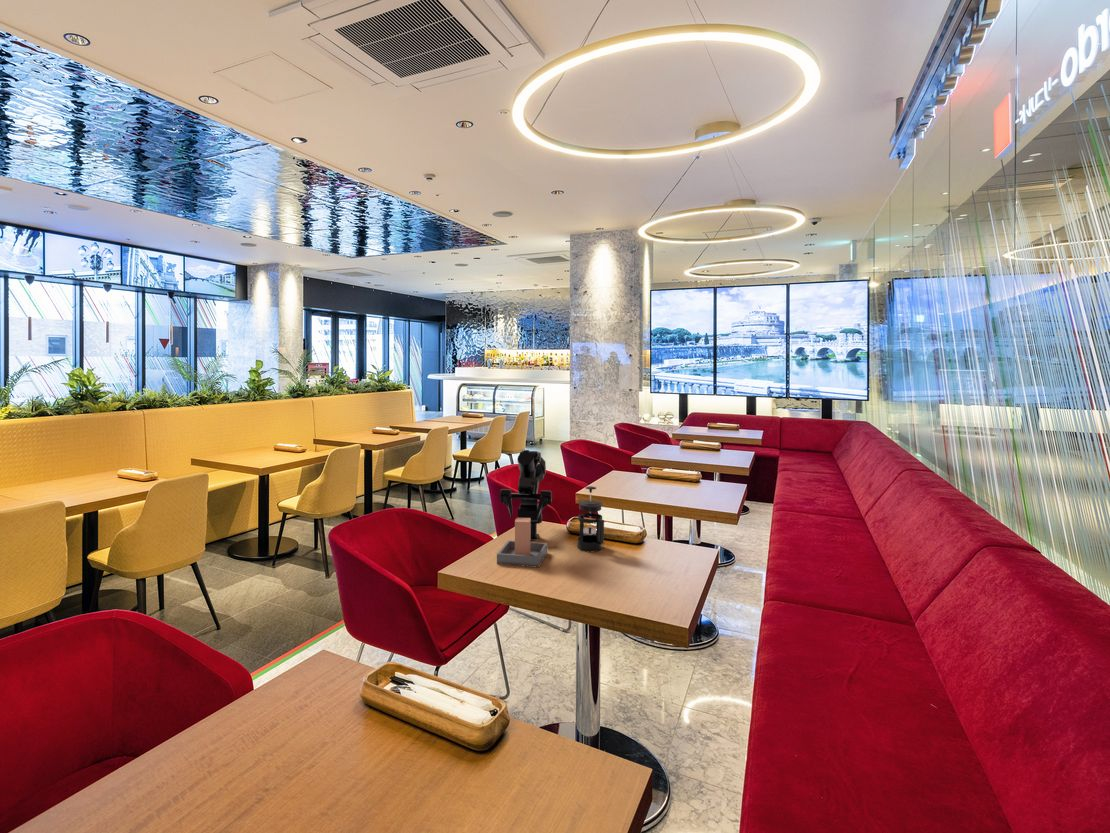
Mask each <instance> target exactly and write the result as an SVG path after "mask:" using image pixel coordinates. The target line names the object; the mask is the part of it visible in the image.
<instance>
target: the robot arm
mask: <svg viewBox="0 0 1110 833" xmlns="http://www.w3.org/2000/svg"><path fill="white" fill-rule="evenodd" d="M517 463H518V470H519V477H518V484H517V491H518V492H512V489H511V488H509V489H508V488H501V489H500V490H499V500H500V503H501V504H503V505H505V506H506V507H507V509H508V512H509V514H510V518H512V517H513V501H512V500H513V499H514V500H515V499H516V500H517V499H518V500H519V499H520V504H519V507H518V509H517V518H531V539H536V538H537V537H538V538H539V536H540V534H539V533H537V531H538V527H537V525H540V524H542V523H543V515H542V511H543V510H544V509H545V507H548V506H549V505H552V500H553V499H552V498H553V497H552V496H553V494H552V491H551V490H541V489H540V493H539V492H538V491H539V485H540V482H542V481H543V480H544V477H545V475H546V472H547V467H546V466H547V465H546V460H545V459H544V458H543V457H542V453H541V452H539V451H538V450H529V449H524V450H521V452H520V453H519V454H518V456H517ZM538 535H539V536H538ZM538 538H537V539H538ZM537 539H536V540H537Z"/></svg>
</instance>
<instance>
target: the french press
mask: <svg viewBox="0 0 1110 833" xmlns="http://www.w3.org/2000/svg"><path fill="white" fill-rule="evenodd" d="M584 489H586V490H589V491H588V492H589V499H588V500H587V499H585V500H581V501H578V502H577V503H578V505H579V506H578V507H579V511H583V512H584V513H579V514H578V516H577V520H578V522H579V529H578V532H579V536H578V537H577V545H576V548H577V549H578V550H580V551H582V552H587V551H589V553H590V552H591V551H595V552H599V551H601V550H602V549H603V544H604V543H605V540H604V539H605V520H604V519H603V515H602V514H600V513H596V512H600V511H602V506H603V504H604V503H603V502H602V501H599V500H592V492H593V490H597V487H596V486H590V485H589V486H585V487H584ZM585 517H589V519H587V518H585ZM592 517H593V518H594V517H595V518H594V519H593V518H592ZM585 524H589V526H588V527H584V526H585ZM592 524H596V527H592V526H591V525H592Z"/></svg>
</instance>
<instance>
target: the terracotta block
mask: <svg viewBox="0 0 1110 833" xmlns="http://www.w3.org/2000/svg"><path fill="white" fill-rule="evenodd" d="M514 541H515V555H528V556H530V552H531V542H532V541H531V518H518V517H516V518H515V520H514Z"/></svg>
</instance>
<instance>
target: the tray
mask: <svg viewBox="0 0 1110 833" xmlns="http://www.w3.org/2000/svg"><path fill="white" fill-rule="evenodd" d="M546 553H547V554H548V543H546V542H534V541H533V542H532V541H531V552H530V556H528V555H515V540H507V541H506V542H505V543H504V545H503V546H502V547H501V548H500V550H499V551H498V552H497V553H496V564H497V565H504V564H510V565H509V566H517V565H524V566H523V567H529V566H536V567H535V568H540V566H541V564H542V563H541V562H543V561H544V559H545V558H546V556H547V554H546ZM545 555H546V556H545ZM543 558H544V559H543ZM542 560H543V561H542ZM540 563H541V564H540ZM539 565H540V566H539Z"/></svg>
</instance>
